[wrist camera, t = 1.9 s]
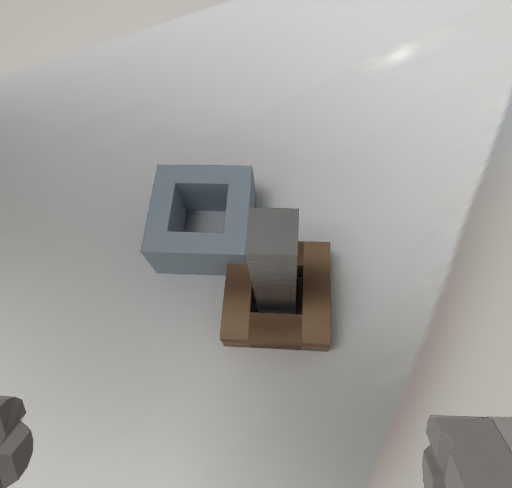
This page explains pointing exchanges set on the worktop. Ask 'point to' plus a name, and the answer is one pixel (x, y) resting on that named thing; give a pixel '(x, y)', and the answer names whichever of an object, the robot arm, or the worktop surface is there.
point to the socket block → (281, 325)
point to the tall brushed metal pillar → (273, 257)
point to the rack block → (198, 198)
